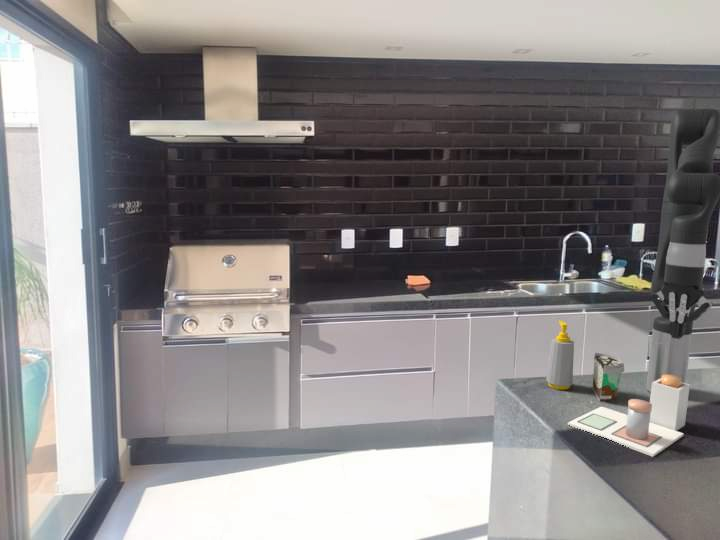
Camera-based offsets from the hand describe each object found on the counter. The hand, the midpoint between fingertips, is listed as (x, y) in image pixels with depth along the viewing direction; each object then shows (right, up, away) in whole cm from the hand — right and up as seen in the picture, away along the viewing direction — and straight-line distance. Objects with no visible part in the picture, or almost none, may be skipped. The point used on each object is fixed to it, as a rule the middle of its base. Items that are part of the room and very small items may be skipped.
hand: (676, 337), depth 128 cm
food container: (-7, -18, +20) cm, 28 cm away
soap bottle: (-18, -17, +27) cm, 36 cm away
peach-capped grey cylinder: (-12, -21, -5) cm, 24 cm away
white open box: (-1, -21, +3) cm, 21 cm away
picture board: (-12, -21, -1) cm, 24 cm away
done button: (0, -12, +2) cm, 12 cm away
